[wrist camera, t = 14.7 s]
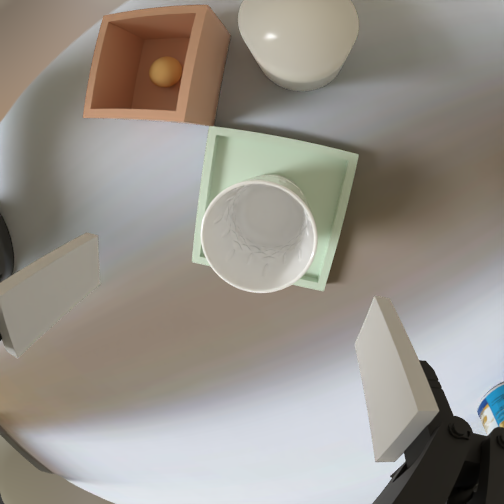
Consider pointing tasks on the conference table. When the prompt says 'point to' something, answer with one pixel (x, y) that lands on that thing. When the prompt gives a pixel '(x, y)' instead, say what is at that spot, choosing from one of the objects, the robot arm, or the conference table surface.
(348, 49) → the mug
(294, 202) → the white cup
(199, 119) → the planter
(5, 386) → the conference table surface
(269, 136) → the tray
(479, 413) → the beverage bottle
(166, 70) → the ball
